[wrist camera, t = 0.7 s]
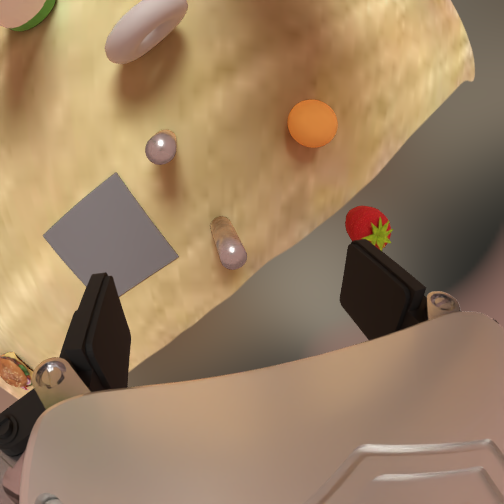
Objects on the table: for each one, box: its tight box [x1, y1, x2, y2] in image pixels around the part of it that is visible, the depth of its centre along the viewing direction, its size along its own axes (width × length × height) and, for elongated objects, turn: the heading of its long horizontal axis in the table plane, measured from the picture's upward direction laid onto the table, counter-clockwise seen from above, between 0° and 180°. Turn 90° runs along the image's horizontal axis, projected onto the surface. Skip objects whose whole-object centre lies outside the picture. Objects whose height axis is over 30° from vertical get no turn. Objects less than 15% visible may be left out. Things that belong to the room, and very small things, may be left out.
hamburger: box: [0, 352, 33, 390], centre depth 39 cm, size 14×14×6 cm
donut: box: [105, 0, 188, 64], centre depth 21 cm, size 10×4×10 cm, turn 131°
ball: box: [288, 99, 338, 148], centre depth 32 cm, size 6×6×6 cm
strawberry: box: [345, 206, 393, 251], centre depth 38 cm, size 6×8×10 cm
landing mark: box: [43, 173, 179, 296], centre depth 36 cm, size 14×14×1 cm
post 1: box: [145, 130, 176, 165], centre depth 28 cm, size 3×3×9 cm
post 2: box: [210, 216, 247, 270], centre depth 35 cm, size 3×3×9 cm
